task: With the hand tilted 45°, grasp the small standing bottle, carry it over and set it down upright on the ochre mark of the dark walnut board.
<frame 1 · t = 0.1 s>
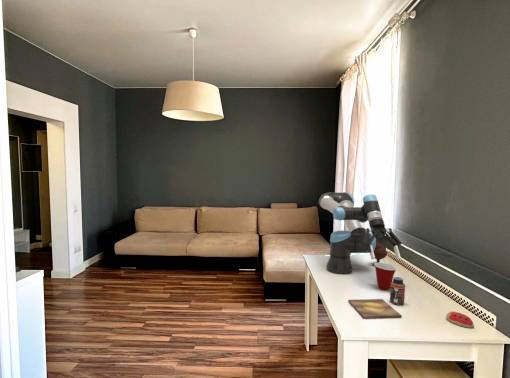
hand: (386, 258, 155), 15 cm above the table, tool tilted 35°, fingers open, 13 cm apart
plastic cup: (384, 288, 156), on the table
ladybug figurine: (459, 323, 121), on the table
supplement bottle: (397, 303, 139), on the table
walnut board: (373, 309, 132), on the table
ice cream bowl: (377, 265, 194), on the table
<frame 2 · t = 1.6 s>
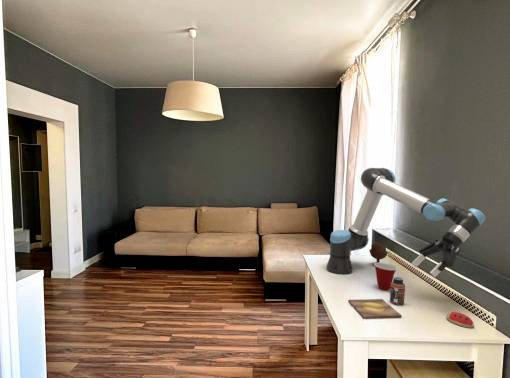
hand: (422, 270, 139), 15 cm above the table, tool tilted 45°, fingers open, 13 cm apart
nothing on the table moved.
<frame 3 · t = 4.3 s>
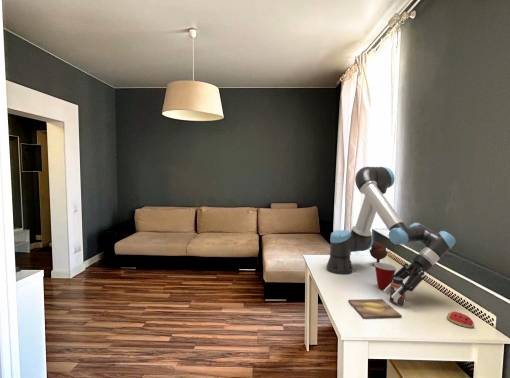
hand: (389, 295, 138), 3 cm above the table, tool tilted 45°, fingers closed on supplement bottle, 6 cm apart
supplement bottle: (397, 303, 139), on the table, touching gripper
everything else where it was.
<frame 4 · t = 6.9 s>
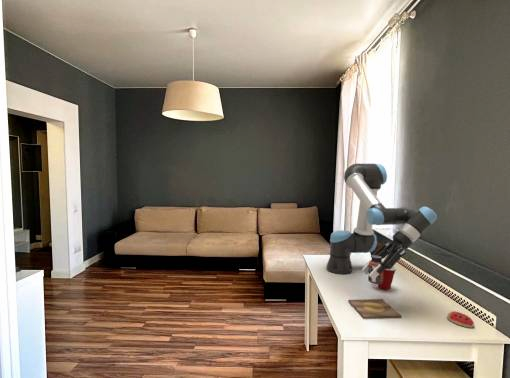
hand: (367, 274, 131), 15 cm above the table, tool tilted 45°, fingers closed on supplement bottle, 6 cm apart
supplement bottle: (375, 282, 131), point 12 cm above the table, touching gripper
everything else where it was.
when the fingers open (6 cm above the table, at t = 9.4 s): supplement bottle drops 1 cm, resting on walnut board.
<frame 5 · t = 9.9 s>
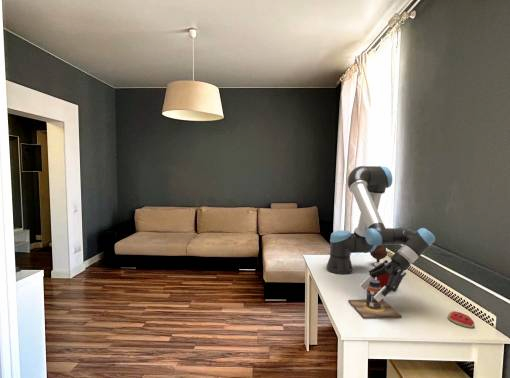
hand: (368, 293, 131), 7 cm above the table, tool tilted 45°, fingers open, 12 cm apart
supplement bottle: (373, 307, 132), point 1 cm above the table, touching walnut board
everything else where it was.
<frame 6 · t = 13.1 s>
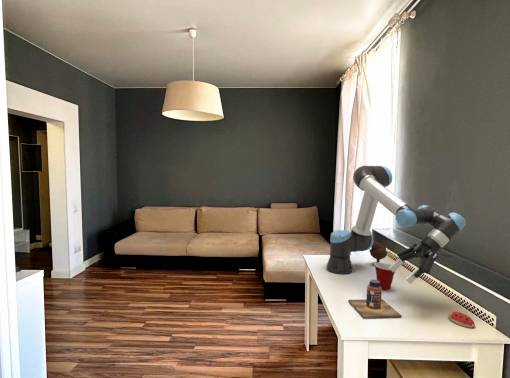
hand: (399, 275, 134), 14 cm above the table, tool tilted 45°, fingers open, 13 cm apart
nothing on the table moved.
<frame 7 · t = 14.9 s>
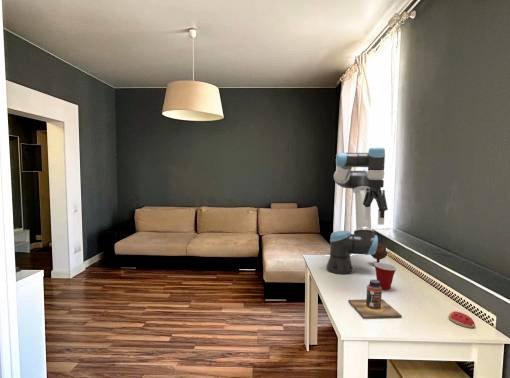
hand: (373, 221, 152), 34 cm above the table, tool pointing down, fingers open, 13 cm apart
nothing on the table moved.
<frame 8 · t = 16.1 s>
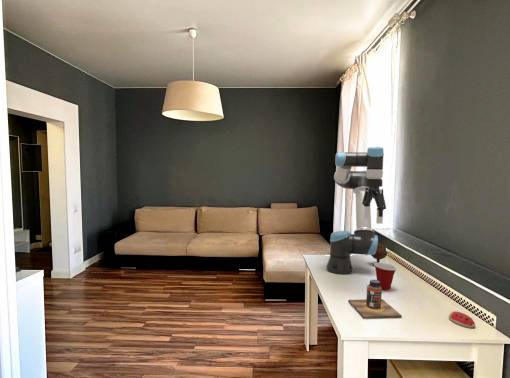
hand: (372, 221, 152), 35 cm above the table, tool pointing down, fingers open, 13 cm apart
nothing on the table moved.
at the end: supplement bottle inside the target area on the walnut board (0.2 cm from its centre), point 1.0 cm above the walnut board's base; supplement bottle tilted 0°; the gripper is holding nothing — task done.
